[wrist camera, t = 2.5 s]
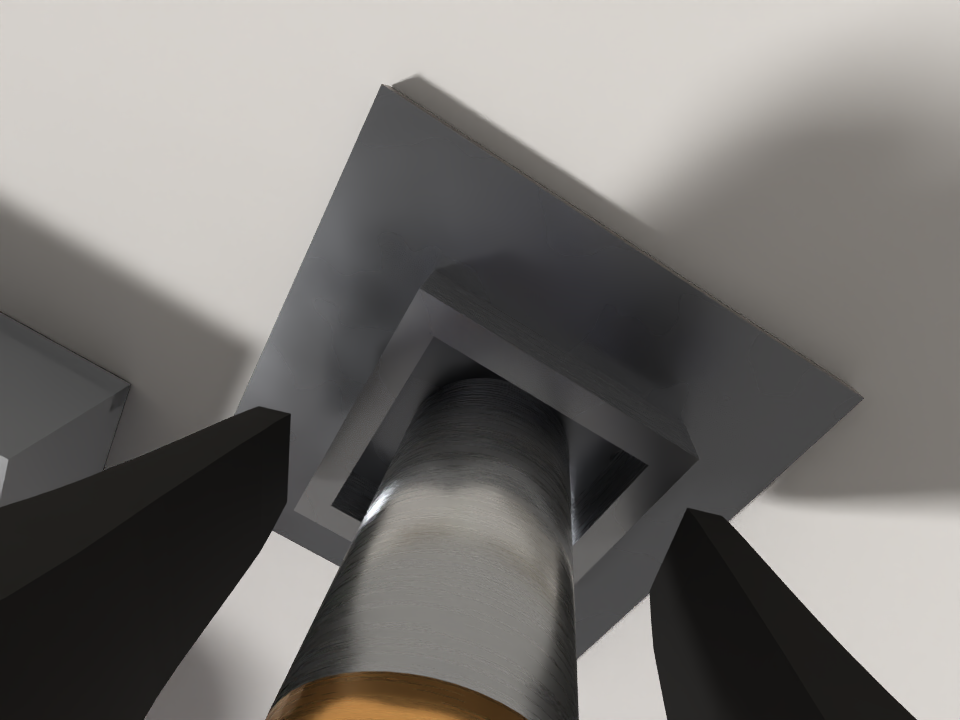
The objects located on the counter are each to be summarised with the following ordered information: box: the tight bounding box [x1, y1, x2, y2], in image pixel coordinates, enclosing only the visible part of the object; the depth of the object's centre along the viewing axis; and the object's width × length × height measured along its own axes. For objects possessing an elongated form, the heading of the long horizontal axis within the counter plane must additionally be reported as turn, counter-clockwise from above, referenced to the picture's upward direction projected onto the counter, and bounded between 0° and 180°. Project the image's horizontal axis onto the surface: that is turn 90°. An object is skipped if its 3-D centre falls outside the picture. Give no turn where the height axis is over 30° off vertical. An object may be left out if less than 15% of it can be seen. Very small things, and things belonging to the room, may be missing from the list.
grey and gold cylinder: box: [265, 378, 579, 720], centre depth 8 cm, size 3×3×7 cm
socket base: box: [234, 84, 864, 658], centre depth 11 cm, size 10×10×2 cm
